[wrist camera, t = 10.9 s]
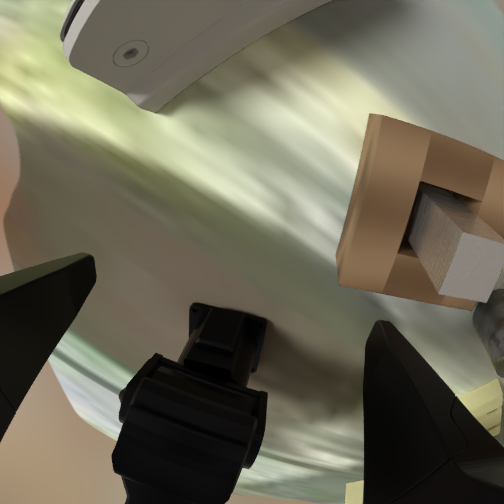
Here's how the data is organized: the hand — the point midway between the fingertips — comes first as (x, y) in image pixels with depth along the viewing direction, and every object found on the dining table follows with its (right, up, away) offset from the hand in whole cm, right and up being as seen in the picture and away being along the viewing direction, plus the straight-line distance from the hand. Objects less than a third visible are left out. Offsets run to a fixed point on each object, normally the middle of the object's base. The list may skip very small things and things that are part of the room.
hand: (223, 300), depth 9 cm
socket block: (+12, +5, +10) cm, 16 cm away
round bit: (+22, -4, +12) cm, 25 cm away
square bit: (+12, +5, +10) cm, 16 cm away
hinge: (-1, +18, +7) cm, 19 cm away
